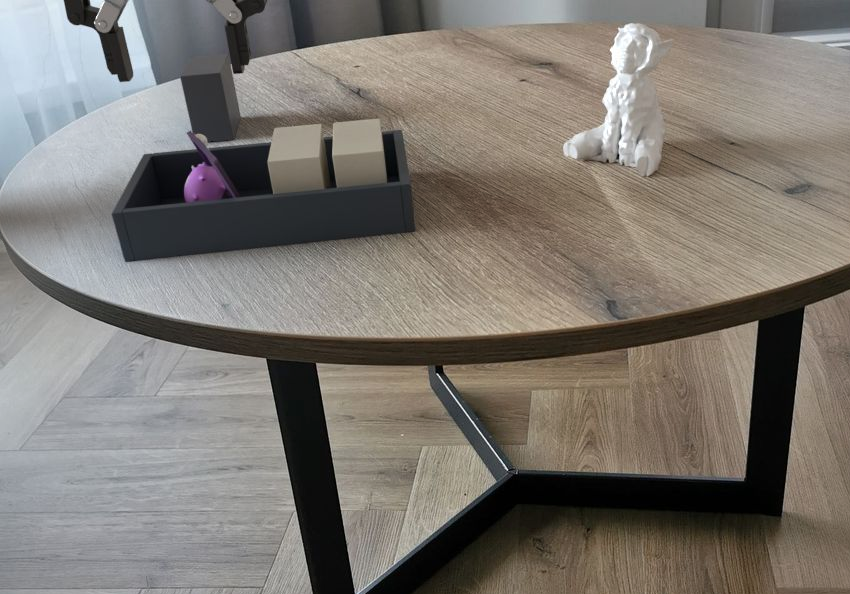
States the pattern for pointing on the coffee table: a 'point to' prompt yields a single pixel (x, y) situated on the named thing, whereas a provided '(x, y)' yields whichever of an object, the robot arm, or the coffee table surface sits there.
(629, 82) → the seated beast figurine
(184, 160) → the tray
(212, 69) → the grey box
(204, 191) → the purple bumpy fruit toy
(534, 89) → the coffee table surface
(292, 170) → the cream box
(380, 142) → the cream box
